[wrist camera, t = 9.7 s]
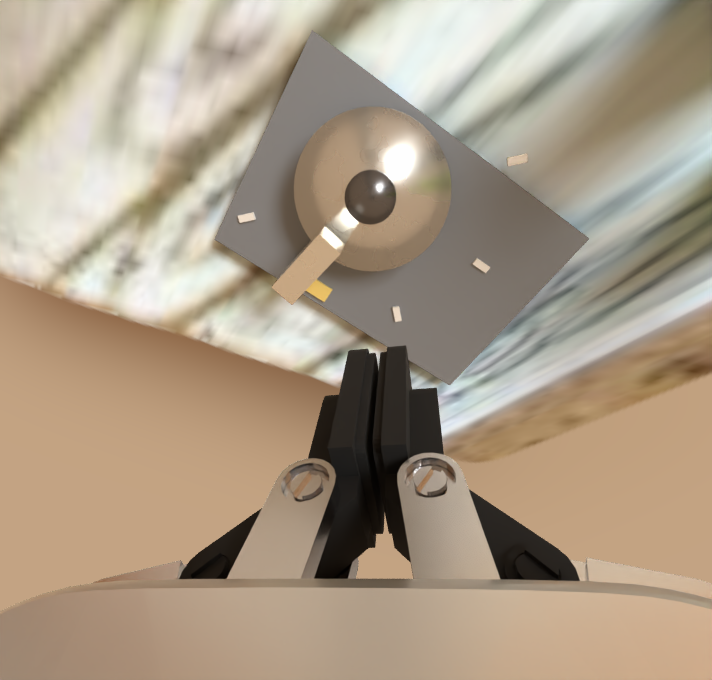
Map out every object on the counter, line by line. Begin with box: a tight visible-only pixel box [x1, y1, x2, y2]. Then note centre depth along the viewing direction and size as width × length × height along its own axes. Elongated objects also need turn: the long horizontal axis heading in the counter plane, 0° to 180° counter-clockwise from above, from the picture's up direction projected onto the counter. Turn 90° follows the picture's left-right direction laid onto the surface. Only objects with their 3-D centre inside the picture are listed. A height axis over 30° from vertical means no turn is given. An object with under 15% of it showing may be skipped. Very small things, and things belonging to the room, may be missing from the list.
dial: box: [272, 107, 451, 305], centre depth 28 cm, size 14×10×4 cm
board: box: [215, 31, 589, 385], centre depth 31 cm, size 22×17×1 cm
